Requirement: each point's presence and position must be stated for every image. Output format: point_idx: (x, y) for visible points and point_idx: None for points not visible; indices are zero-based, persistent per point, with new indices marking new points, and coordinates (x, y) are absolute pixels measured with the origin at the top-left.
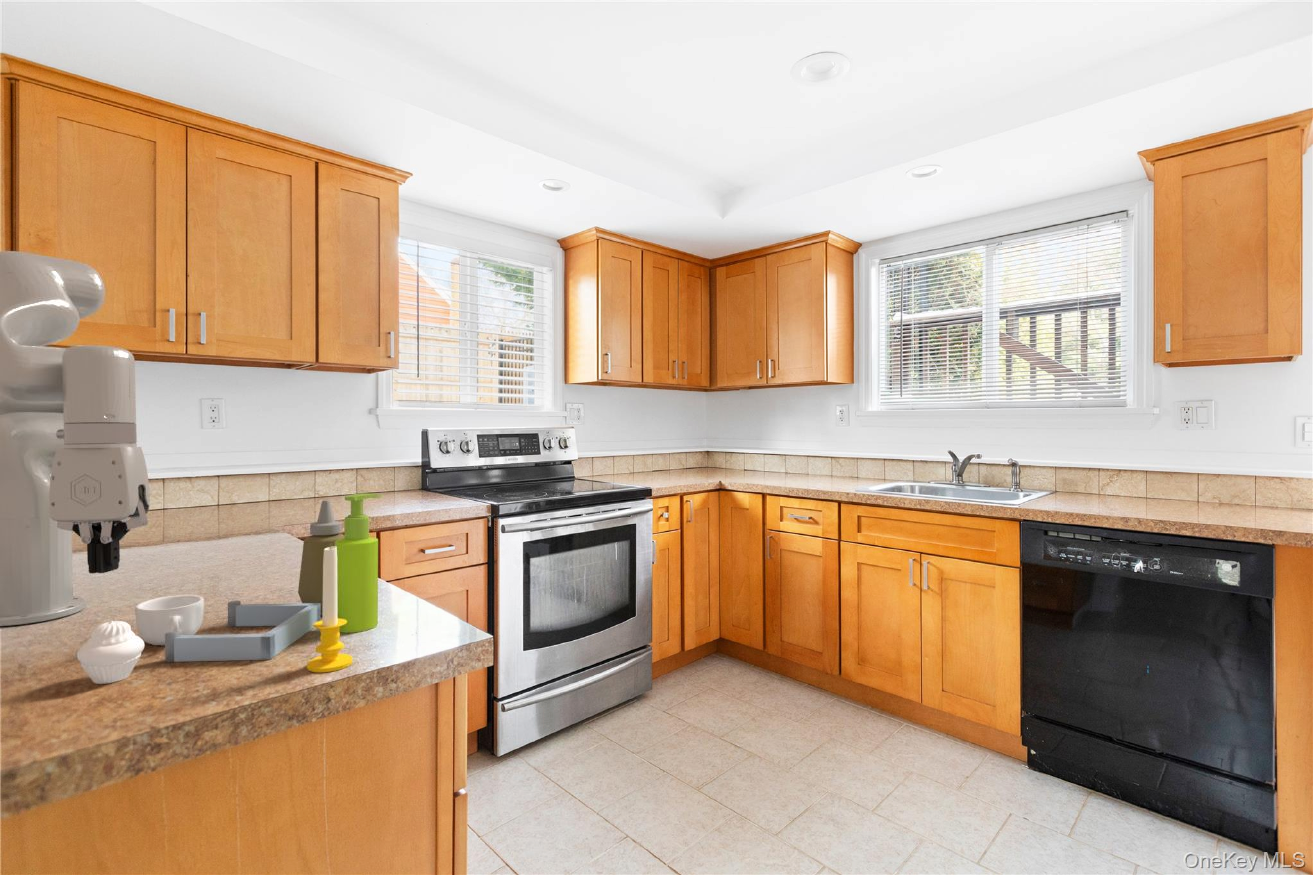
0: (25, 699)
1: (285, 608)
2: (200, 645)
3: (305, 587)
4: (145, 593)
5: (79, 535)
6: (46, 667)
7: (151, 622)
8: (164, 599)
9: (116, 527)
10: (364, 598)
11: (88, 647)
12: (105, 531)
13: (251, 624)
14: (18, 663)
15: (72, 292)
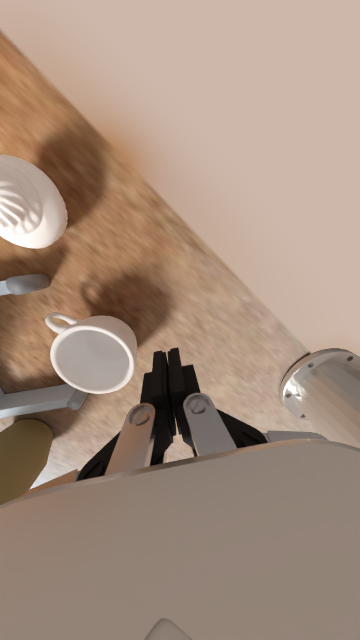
0: (83, 135)
1: (13, 405)
2: None
3: (5, 447)
4: None
5: (231, 418)
6: (164, 244)
7: (88, 320)
8: (124, 377)
9: (102, 467)
10: None
11: (9, 163)
12: (134, 440)
13: (63, 385)
14: (207, 254)
15: None
